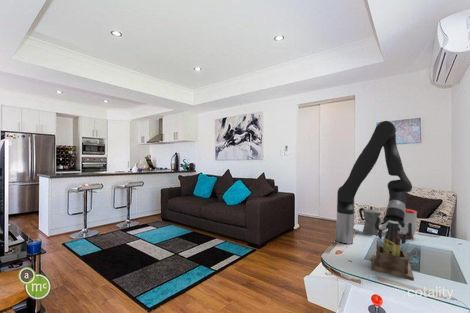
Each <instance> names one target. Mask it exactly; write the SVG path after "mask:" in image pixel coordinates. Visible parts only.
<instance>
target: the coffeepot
mask: <svg viewBox="0 0 470 313" xmlns="http://www.w3.org/2000/svg"><path fill="white" fill-rule="evenodd" d="M358 213H359V216H360V220H361V221H364V224H363V228H362V229H363V230H362V233H363V232H364V233H363V234H365V233H366V234H365V235H367V234H371V235H370V236H373V235H377V236H378V230H376V229H375V224H376V220H377V218H378V217H379V216H381V215H382V213H381V212H380V211H378V210H376V209H373V206H369V209H367V208H365V207H360V208H359V210H358ZM379 218H380V217H379Z"/></svg>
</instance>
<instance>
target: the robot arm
mask: <svg viewBox="0 0 470 313" xmlns="http://www.w3.org/2000/svg"><path fill="white" fill-rule="evenodd" d="M396 133H397V128H396V126H395V124H394V123H393V122H392V121H390V120H382V121H380V122H379V123H378V124H377V125H376V126H375V129H374V131H373V132H372V135H371V137H370V139H369V140H368V142H367V144H366V145H365V147H363V150H362V151H361V152H360V154H359V156H358V157H357V158H356V160H355V162H354V163H353V166H352V168H351V170H350V173H349V175H348V177H347V179H346V180H345V182H344V183H343V185H342V186H340V187H338V190H337V195H336V196H337V197H336V198H337V200H336V203H337V204H336V224H335V241H336V242H338V241H339V242H338V243H340V242H342V243H341V244H344V243H347V244H346V245H351V243H352V244H354V229H355V228H354V225H355V224H354V222H355V220H354V219H355V197H356V194H357V192H358V190H359V188H360V186H361V184H362V183H363V182H364V181H365V179H366V178H367V176H369V174H370V173H371V171H372V169H373V168H374V166H375V165H376V163H377V161H378V159H379V156H380V154H381V151H382V149H383V151H384V159H385V166H386V168H387V174H388V175H389V176H390V177H391V176H394V177H399V179H393V180H390V181H389V182H387V185H386V186H387V191H388V194H389V195H388V196H389V197H388V203H387V205H386V210H385V216H384V218H383V219H382V218H381V217H378V218H377V220H376V224H375V229H376V230H378V235H377V237H378V238H379V240H382V237H383V232H384V231H388V221H395V222H398V223H399V226H398V230H399V232H400V233H401V234H402V237H401V244H402V245H404V244H406V243H407V238H406V237H412V224H411V223H409V224H407V223H404V217H405V208H406V204H407V203H406V202H407V196H406V195H405V193H409V192H411V191H412V190H413V185H412V183H411V180H410V179H409V177H408V176H407V174H406V172H405V170H404V167H403V166H404V165H403V161H402V159H401V155H400V152H399V149H398V145H397V137H396V136H397V134H396ZM382 223H383V224H382ZM380 224H382V225H381V226H380ZM404 226H406V228H408V233H406V232H405V231H404V229H403V227H404ZM412 238H413V237H412Z"/></svg>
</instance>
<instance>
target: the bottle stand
mask: <svg viewBox="0 0 470 313" xmlns="http://www.w3.org/2000/svg"><path fill="white" fill-rule="evenodd" d="M383 250H384V245H379V244H377V245H376V254H372V256H371V270H372V271H374V270H375V272H379V273H383V274H387V273H388V274H387V275H392V276H396V277H400V278H403V279H408V280H411V281H414V280H415V277H414V276H415V275H414V273H413V270H412V267H411V264H410V262H409V257H408V254H407V251H406V250H405V249H400V257H398V256H393V255H389V254H384V253H383Z"/></svg>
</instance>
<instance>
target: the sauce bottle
mask: <svg viewBox="0 0 470 313" xmlns="http://www.w3.org/2000/svg"><path fill="white" fill-rule="evenodd" d="M398 226H399V223H398V222H395V221H388V229H387V230H386V233H385V236H384V237H383V246H384V250H383V253H384V254H389V255H393V256H398V257H400V250H401V237H400V236H399V235H398Z"/></svg>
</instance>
